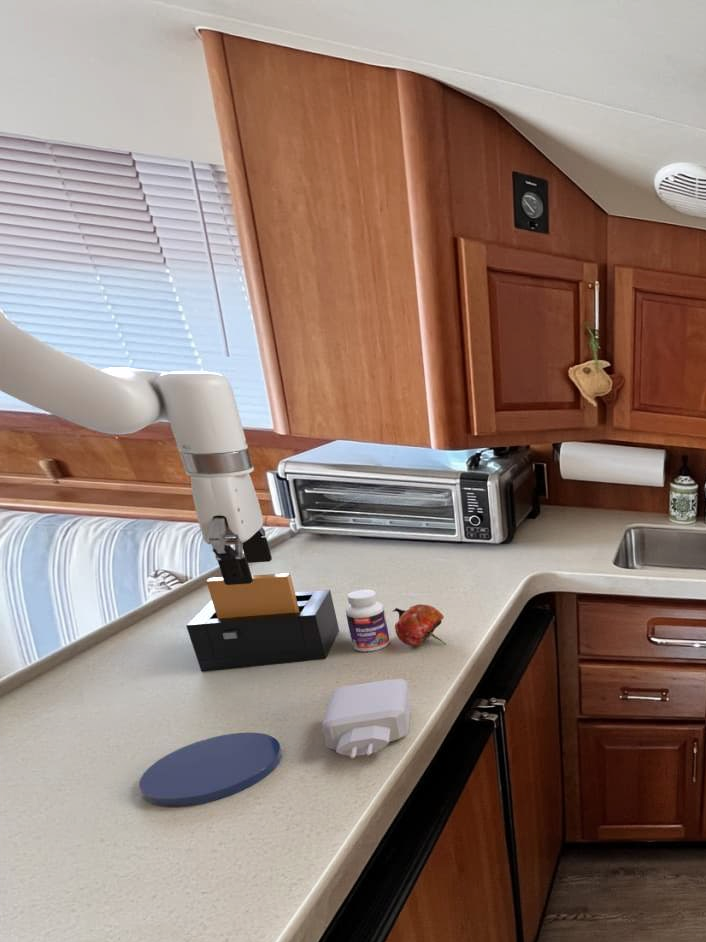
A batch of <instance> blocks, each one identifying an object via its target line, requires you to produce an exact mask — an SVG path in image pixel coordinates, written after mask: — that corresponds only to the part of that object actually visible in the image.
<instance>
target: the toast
mask: <svg viewBox="0 0 706 942" xmlns="http://www.w3.org/2000/svg"><path fill="white" fill-rule="evenodd" d="M251 575H252V579H253V581H252V582H251V583H250V584H236V585H226V584H225V583H224V579H223V576H218V577H209V578H208V579H207V580H206V585H207V588H208V589H207V590H208V591H209V595H210V598H211V600H212V602H213V605H214V608H215V611H216V615H217V618H218V619H219V618H232V617H245V616H257V615H270V614H283V613H295V612H300V611H299V607H298V603H297V599H296V595H295V592H296V591H295V587H294V584H293V580H292V575H291V573H290V572H289V573H287V572H285V573H269V574H255V575H253V574H251Z"/></svg>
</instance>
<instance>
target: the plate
mask: <svg viewBox="0 0 706 942" xmlns="http://www.w3.org/2000/svg"><path fill="white" fill-rule="evenodd" d="M282 758H283V751H282V747H281V744H280V742H279V740H278V739H276V738H275V737H274V736H272V735H270V734H266V733H263V732H234V733H228V734H227V733H226V734H221V735H217V736H213V737H209V738H205V739H201V740H199V741H196V742H193V743H190V744H188V745H185V746H182V747H180V748H178V749H175V750H174V751H171V752H170V753H168V754H166V755H165V756H162V757H161V758H160V759H158V760H157V761H155V762H154V763H153V764H152V765H150V766H149V767H148V768H147V769H146V770H145V771H144V772H143V773H142V775H141V777H140V778H139V781H138V783H139V784H138V787H139V789H140V793H141V795H142V797H143V798H144V800H145V801H146V802H148V803H150V804H153V805H155V806H159V807H167V808H179V807H190V806H197V805H202V804H206V803H210V802H214V801H217V800H221V799H224V798H226V797H230V796H232V795H236V794H238V793H240V792H242V791H244V790H246V789H248V788H250V787H252V786H253V785H255V784H258V783H259V782H260V781H262V780H264V779H265V778H266V777H267V776H269V775H270V774H271V773H272V772H273V771H274V770H275V769H276V768H277V767H278V766H279V764H280V762H281V761H282Z"/></svg>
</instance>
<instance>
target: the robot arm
mask: <svg viewBox="0 0 706 942" xmlns="http://www.w3.org/2000/svg"><path fill="white" fill-rule="evenodd" d="M0 392H2V393H4V394H6V395H8V396H10V397H11V398H14V399H17V400H19V401H20V402H23V403H26V404H27V405H30V406H31V407H34V408H36V409H39V410H41V411H44V412H46V413H49V414H52V415H54V416H56V417H58V418H61V419H64V420H66V421H68V422H70V423H74V424H76V425H77V426H81V427H84V428H86V429H89V430H92V431H96V432H98V433H99V432H100V433H104V434H108V435H126V434H127V435H128V434H134V433H136V432H138V431H141V430H143V429H144V428H146V427H148V426H150V425H154V424H156V423H161V422H162V423H163V422H168V423H169V424H170V428H171V431H172V434H173V437H174V441H175V444H176V447H177V450H178V453H179V456H180V460H181V463H182V466H183V469H184V472H185V475H186V476H187V477H190V486H191V495H192V499H193V504H194V509H195V513H196V517H197V520H198V525H199V528H200V532H201V536H202V539H203V542H204V543H205V544H206V545H207V544H208V545H210V546H211V547H212V552H213V553H214V555H215V560H216V561H217V564H218V567H219V570H220V573H221V577H223V579H224V583H225V584H226V585H236V584H250V583H251V582H252V581H253V579H252V575H253V574H252V572H251V569H250V566H249V564H255V563H267V562H268V563H269V562H271V561H272V560H273V557H272V554H271V550H270V546H269V542H268V539H267V536H266V530H265V529H264V527H263V526H264V518H263V513H262V509H261V506H260V505H261V504H260V502H259V498H258V495H257V492H256V489H255V486H254V482H253V481H252V477H251V475H250V473H253V472H254V471H255V468H254V464H253V462H252V461H253V460H252V457H251V453H250V450H249V446H248V443H247V440H246V436H245V435H246V434H245V431H244V428H243V425H242V420H241V417H240V412H239V409H238V406H237V402H236V398H235V394H234V391H233V387H232V384H231V382H230V381H229V379H228V378H227V377H226V376H224V375H222V374H221V373H217V372H211V371H198V370H197V371H196V370H195V371H194V370H183V371H182V370H181V371H180V370H179V371H170V372H168V371H155V370H149V369H142V368H141V369H140V368H133V367H120V366H119V367H108V368H104V369H100V368H98V367H96V366H93V365H91V364H90V363H87V362H85V361H83V360H81V359H79V358H76V357H75V356H72V355H70V354H68V353H65V352H63V351H62V350H59V349H57V348H55V347H53V346H51V345H49V344H48V343H45V342H44V341H42V340H40V339H38V338H36V337H35V336H33V335H32V334H31V333H28V331H25V330H24V329H22V328H21V327H19V326H18V325H17V324H15V323H14V322H13V321H12V320H11V319H10V318H9V317H8V316H7V315H6V314H5V312H3V310H2V309H1V308H0ZM232 545H233V546H234V548H233V547H232ZM243 556H244V557H243Z"/></svg>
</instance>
